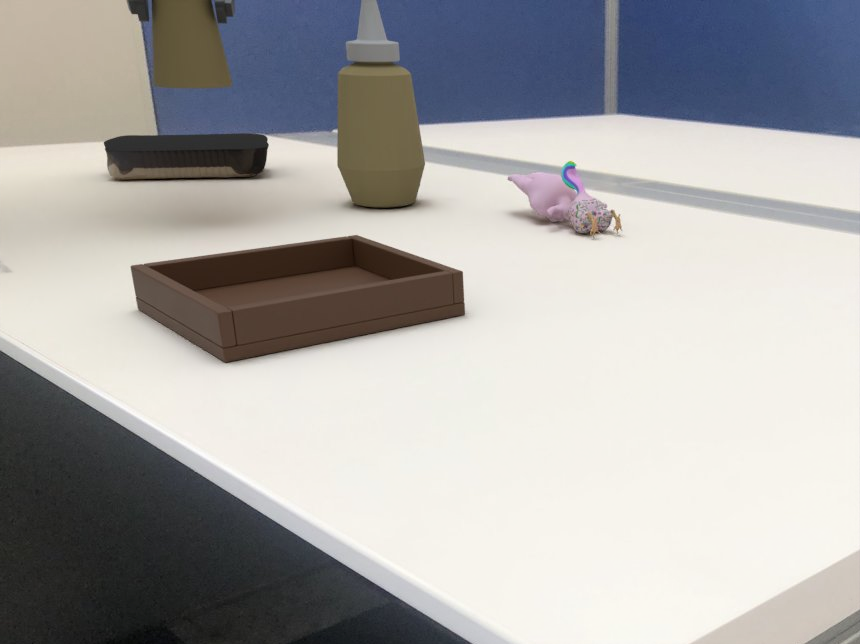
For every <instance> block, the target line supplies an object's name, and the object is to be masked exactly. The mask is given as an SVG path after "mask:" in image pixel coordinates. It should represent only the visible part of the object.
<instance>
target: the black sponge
mask: <svg viewBox="0 0 860 644" xmlns="http://www.w3.org/2000/svg"><path fill="white" fill-rule="evenodd" d="M268 139H269V138H268V137H267V136H266V135H265V134H261V133H251V132H250V133H249V132H248V133H247V132H245V133H241V132H240V133H207V134H206V133H204V134H203V133H202V134H201V133H200V134H156V135H155V134H152V135H151V134H150V135H149V134H145V135H141V134H139V135H138V134H135V135H134V134H132V135H130V134H127V135H119V136H116V137H112V138H108V139H107V140H105V141H103V145H104V150H105V153H106V168H107V172H108V174H109V176H111V177H112V178H115V179H116V180H146V179H147V180H148V179H149V180H151V179H152V180H153V179H188V178H189V179H190V178H191V179H196V178H244V177H245V178H247V177H254V176H257V175H260V173H262V172H264V169H265V167H266V164H267V159H268V158H267V157H268V149H269V147H270V146H269V145H270V144H269V142H268Z"/></svg>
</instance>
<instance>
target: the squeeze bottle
mask: <svg viewBox="0 0 860 644" xmlns="http://www.w3.org/2000/svg"><path fill="white" fill-rule="evenodd" d="M359 11H360V12H359V18H358V19H359V20H358V28H357V36H356V39H354V40H348V41H346V42H345V51H346V60H347V61H349V62H353V63H351V64H348V65H346V66H344V67H342V68H341V69H340V70H339V71H338V72H337V145H336V146H337V149H336V151H337V152H336V154H337V160H336V161H337V162H336V163H337V168H338V170H339V172H340V175H341V177H342V180H343V182H344V184H345V187H346V189H347V192H348V194H349V196H350V199H351V201H352V203H353V204H355V205H357V206H361V207H366V208H374V209H392V208H400V207H404V206H408V205H412V204H414V203H415V202H416V201H417V198H418V194H419V190H420V186H421V182H422V178H423V174H424V170H425V166H426V160H425V154H424V147H423V142H422V141H423V140H422V135H421V128H420V124H419V123H420V122H419V118H418V109H417V103H416V98H415V90H414V85H413V78H412V73H411V72H410V71H409V70H408V69H407V68H406V67H403V66H401V65H398V64H396V63H397V62H399V61H401V59H400V44H399V42H398V41H393V40H389V39H388V38H387V35H386V34H387V33H386V31H385V27H384V24H383V19H382V17H381V13H380V9H379V4H378V2H377V0H361V1H360V10H359Z"/></svg>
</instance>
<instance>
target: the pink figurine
mask: <svg viewBox="0 0 860 644" xmlns="http://www.w3.org/2000/svg"><path fill="white" fill-rule="evenodd" d="M576 167H577V163H575V162H574V161H573V160H569V161H567V162H566V163H565V164H564V165H563V166H562V169H561V174H557V173H548V172H544V171H536V172H532V173H531V172H530V173H529V174H526V175H523V174H521V173H513V174H509V175H508V176H507V181H508V182H512V183H513V184H514V185H515V186H516V187H517V188H518V189H519V191H521V192H522V193H523V194H525V195H526V196H527V198H528V202H529V206H530V208H531V209H532V210H533V211H534V212H535V213H536V214H537V215H539V216H541V217H543V218H547V219H548V220H549V221H550V222H552V223H557V222H562V221H564V219H565V220H567V221H569V222H571V225H572V227H573V229H574V230H575V231H576V232H577V233H578V234H582V233H585V234H588V233H589V234H590V235H592V238H593V237H594V238H595V233H596V232H597V233H598V234H601V232H604V231H606V230H608V229H609V227H610V226H611V224H612V220H613V218H614V220H615V225H614V227H613V229H612V231H613V232H615V230H616V234H617V235H618V234H619V230H620V231H624V230H623V229H622V224H621V218H620V217H621V213H619V214H618V216H617V213H616V211H615V209H610V210H609V209H607V208H608V204H607V203H605V202H602V201H601V200H600V199H598V198H596V197H593V196H592V195H590V194H589V193H587V191H586V188H585V185H584V182H583V181H582V179H581V178H580V176H579V173H578V172H577V169H576Z"/></svg>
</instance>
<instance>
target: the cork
mask: <svg viewBox="0 0 860 644" xmlns="http://www.w3.org/2000/svg"><path fill="white" fill-rule="evenodd" d="M218 24H219V23H218V21H217V15H216V12H215V9H214V5H213V0H151V28H152V29H151V30H152V31H151V33H152V34H151V35H152V78H153V79H152V80H153V86H154V87H157V88H166V89H195V90H196V89H221V88H229V87H233V85H234V84H233V80H232V77H231V72H230V69H229V65H228V60H227V57H226V52H225V49H224V45H223V40H222V35H221V33H220V30H219V25H218Z"/></svg>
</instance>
